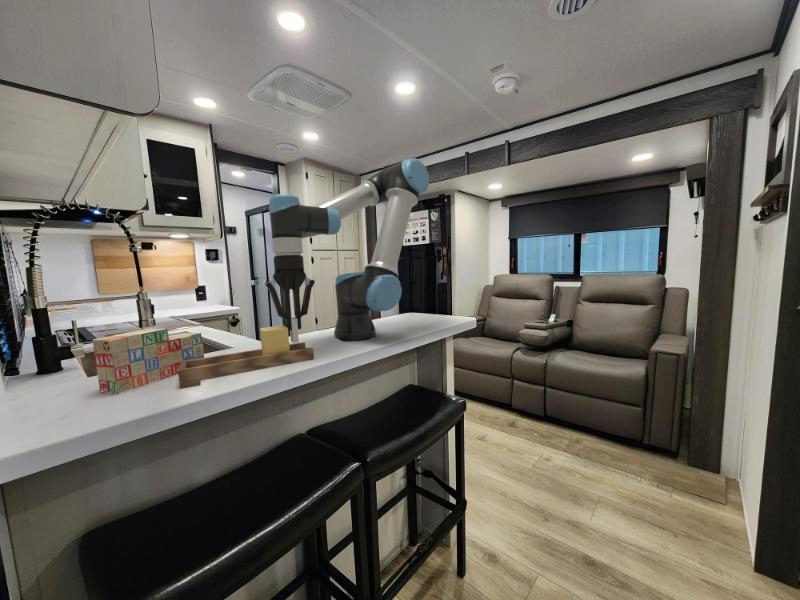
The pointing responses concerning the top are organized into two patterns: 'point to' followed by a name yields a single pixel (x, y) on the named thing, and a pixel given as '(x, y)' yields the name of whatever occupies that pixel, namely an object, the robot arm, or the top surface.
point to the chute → (238, 363)
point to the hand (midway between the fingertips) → (294, 341)
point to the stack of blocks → (142, 357)
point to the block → (274, 340)
